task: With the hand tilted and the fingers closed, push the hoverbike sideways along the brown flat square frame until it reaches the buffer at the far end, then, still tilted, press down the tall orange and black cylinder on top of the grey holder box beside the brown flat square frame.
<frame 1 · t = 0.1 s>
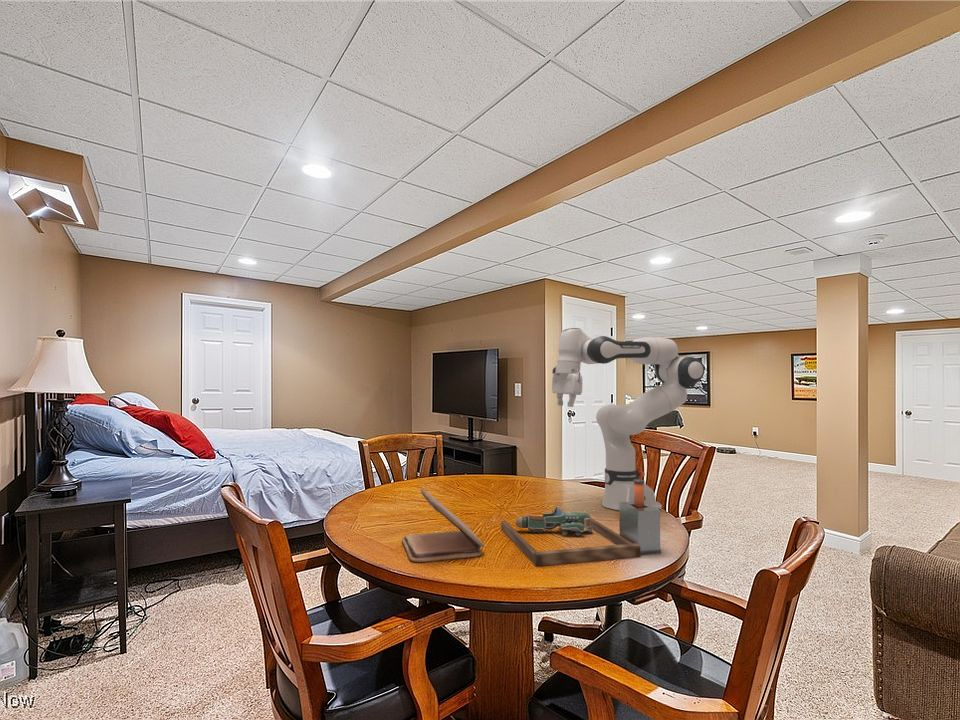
hand: (565, 406, 182), 39 cm above the table, tool pointing down, fingers open, 8 cm apart
hoverbike: (553, 533, 154), on the table
grey holder box: (639, 547, 140), on the table
brown flat square frame: (564, 541, 145), on the table
orange and black cylinder: (638, 493, 141), point 16 cm above the table, slide at 0.0 cm
case: (441, 549, 139), on the table
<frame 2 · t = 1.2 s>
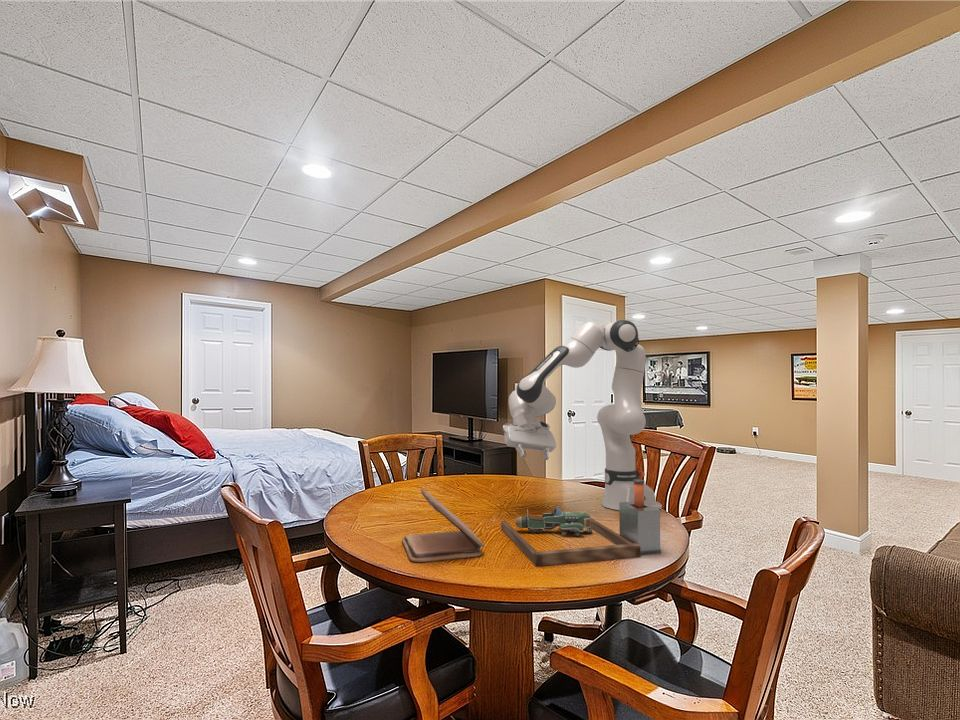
hand: (535, 457, 171), 21 cm above the table, tool tilted 45°, fingers open, 8 cm apart
nothing on the table moved.
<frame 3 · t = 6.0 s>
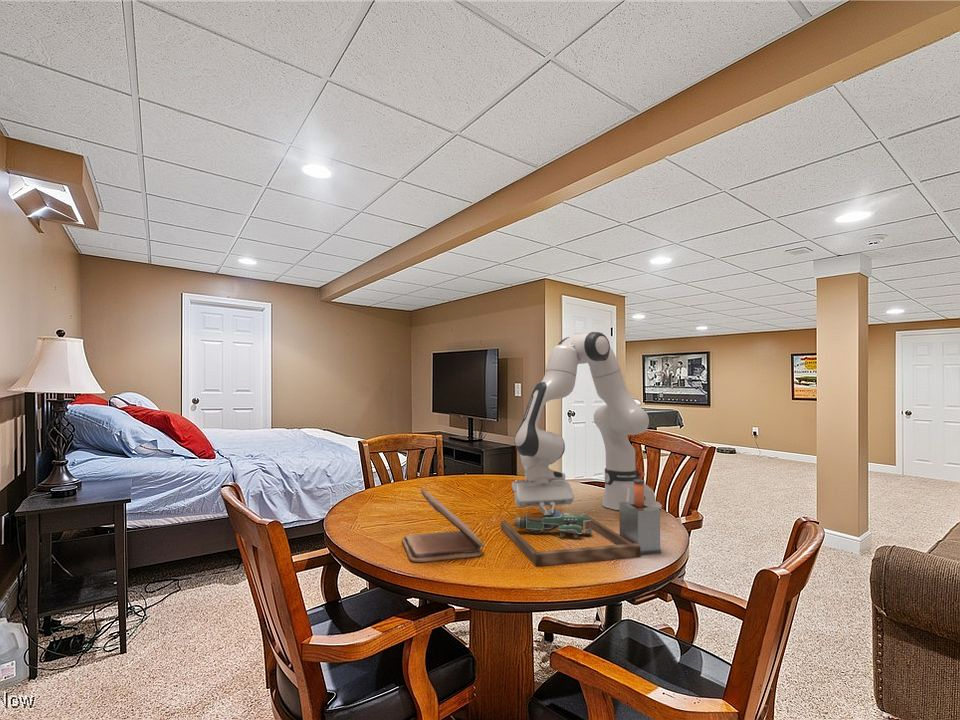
hand: (549, 516, 156), 4 cm above the table, tool tilted 45°, fingers closed
hoverbike: (551, 534, 153), on the table, touching gripper
everything else where it was.
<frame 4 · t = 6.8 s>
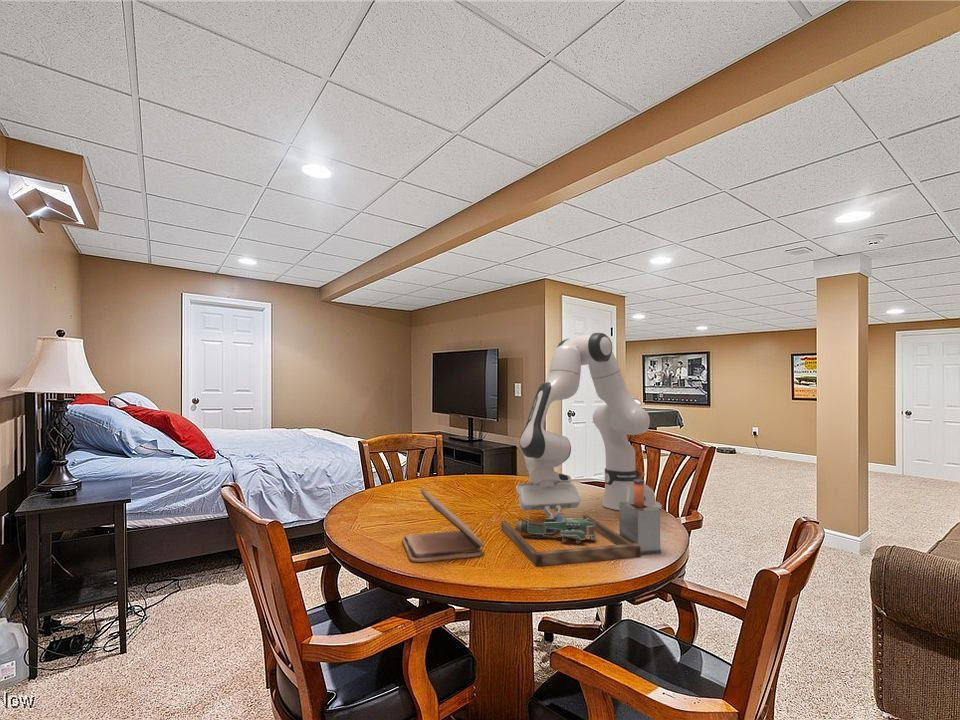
hand: (555, 520, 152), 4 cm above the table, tool tilted 45°, fingers closed
hoverbike: (554, 539, 148), on the table, touching gripper
everything else where it was.
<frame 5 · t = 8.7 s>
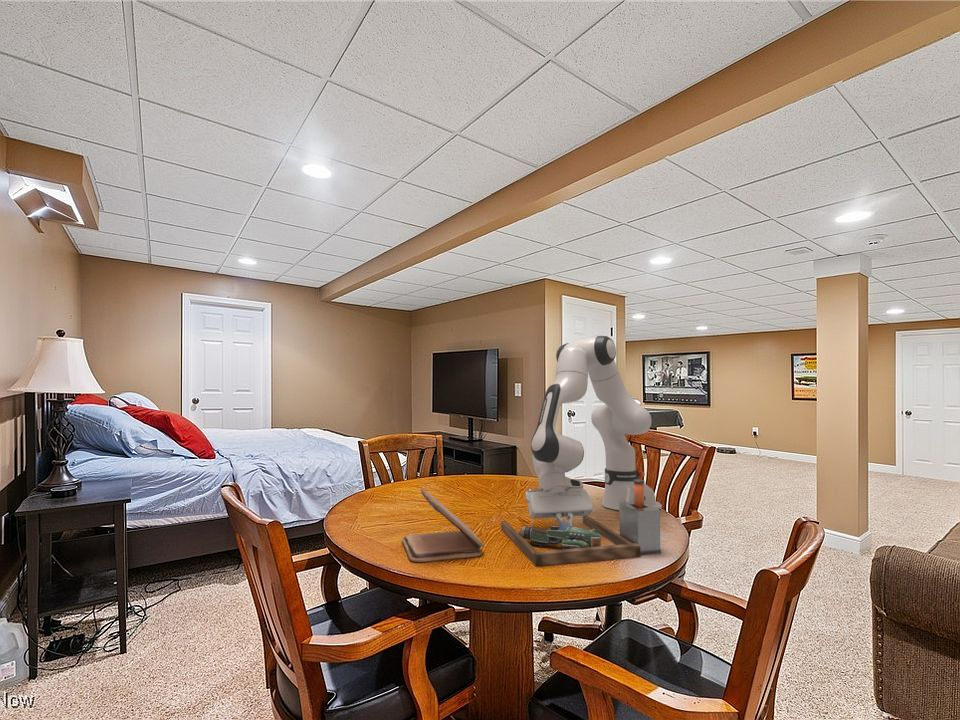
hand: (567, 528, 143), 4 cm above the table, tool tilted 45°, fingers closed
hoverbike: (558, 549, 139), on the table, touching gripper
everything else where it was.
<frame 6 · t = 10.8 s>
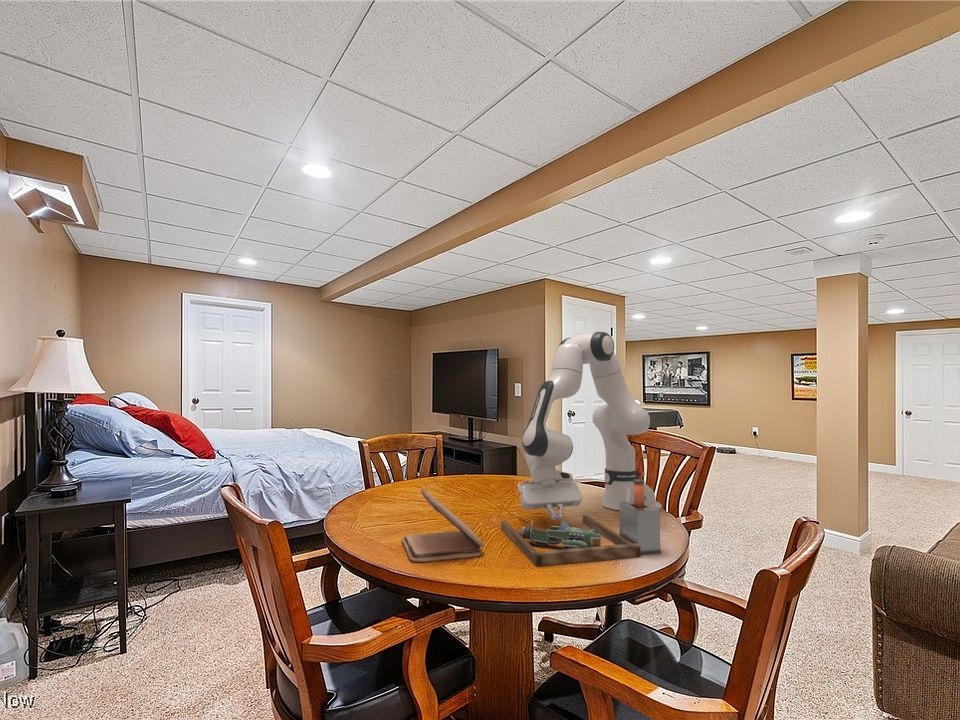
hand: (557, 518, 151), 5 cm above the table, tool tilted 45°, fingers closed
hoverbike: (558, 549, 139), on the table
everything else where it was.
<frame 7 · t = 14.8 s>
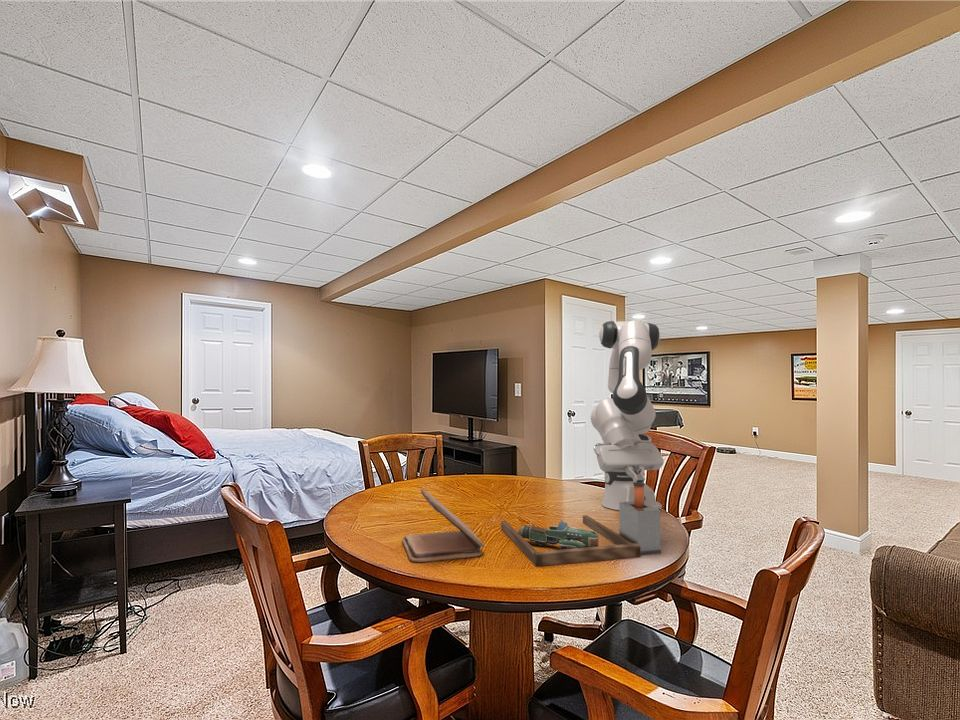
hand: (640, 481, 140), 19 cm above the table, tool tilted 45°, fingers closed, pressing on orange and black cylinder
orange and black cylinder: (638, 496, 141), point 15 cm above the table, slide at -0.7 cm, touching gripper
everything else where it was.
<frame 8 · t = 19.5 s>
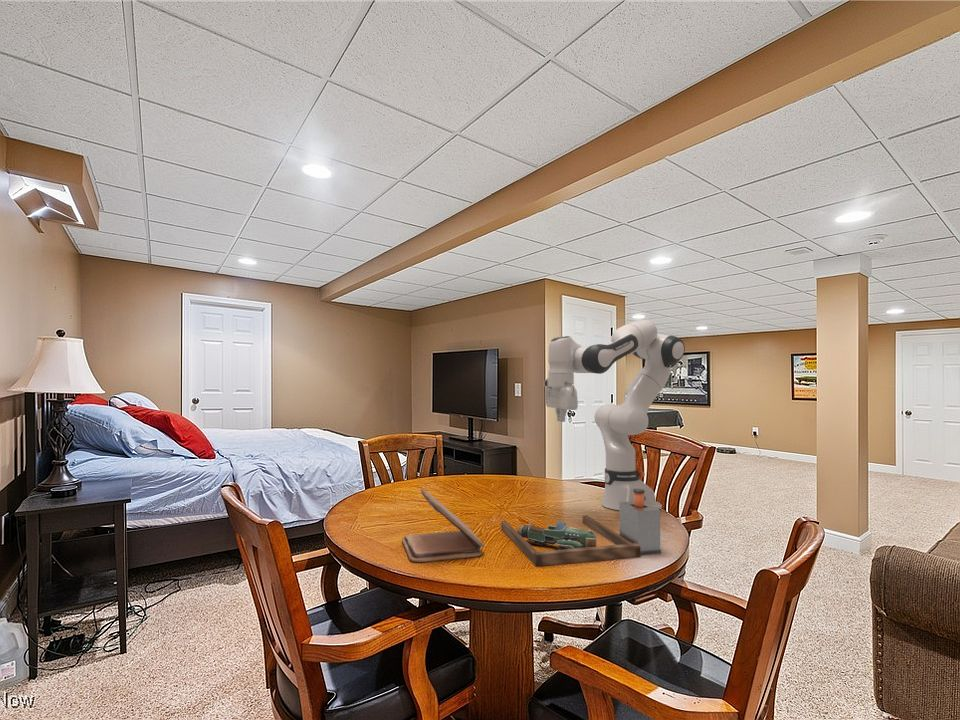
hand: (561, 421, 169), 34 cm above the table, tool pointing down, fingers closed
orange and black cylinder: (639, 502, 141), point 13 cm above the table, slide at -2.7 cm
everything else where it was.
at the end: hoverbike inside the target area (6.4 cm from its centre), on the table; hoverbike moved 14.2 cm from its start; orange and black cylinder slide at -2.7 cm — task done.
